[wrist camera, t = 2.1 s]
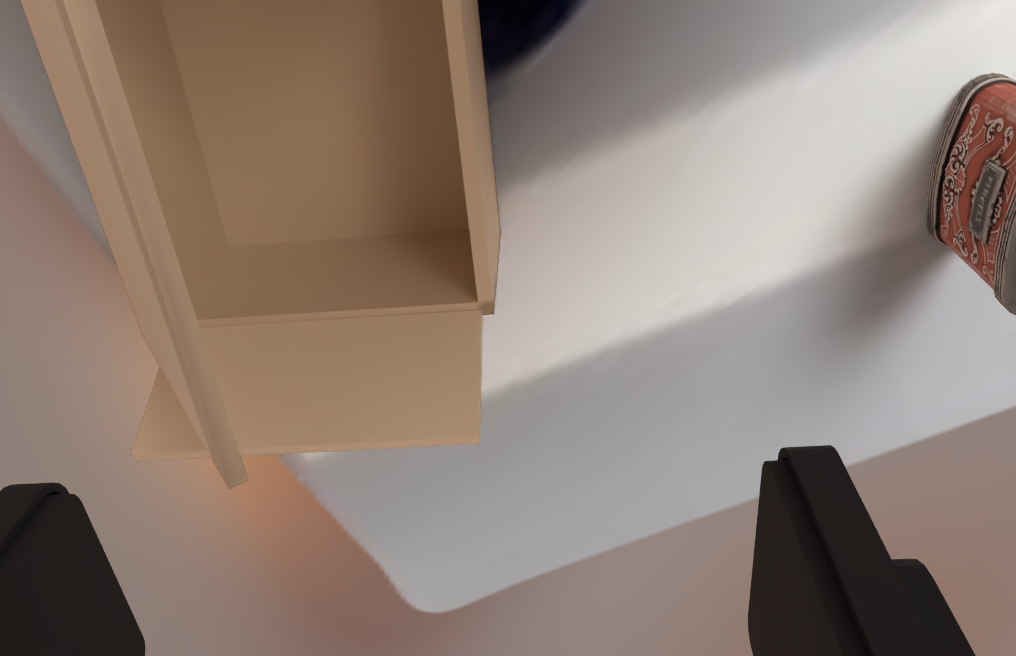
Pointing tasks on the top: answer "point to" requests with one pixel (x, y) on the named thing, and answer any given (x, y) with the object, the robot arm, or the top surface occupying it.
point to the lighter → (979, 183)
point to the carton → (320, 213)
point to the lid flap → (131, 213)
